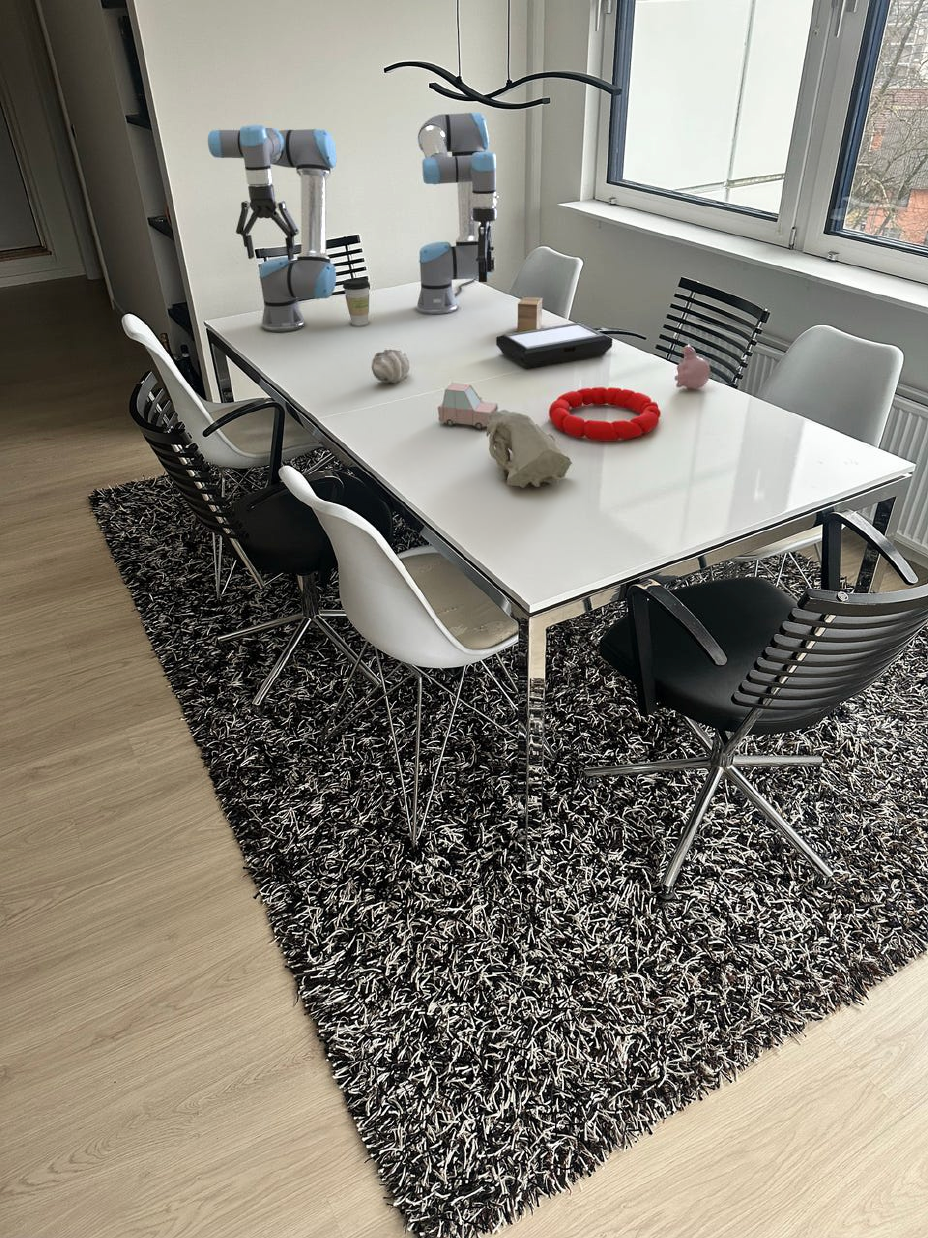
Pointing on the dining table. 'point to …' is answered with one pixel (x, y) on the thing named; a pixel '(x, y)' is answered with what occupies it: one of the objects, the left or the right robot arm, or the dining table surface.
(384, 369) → the seashell
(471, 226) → the right robot arm
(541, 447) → the grey rough stone chunk
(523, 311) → the block
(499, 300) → the dining table surface
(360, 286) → the coffee cup
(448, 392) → the toy car
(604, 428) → the decorative ring
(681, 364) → the figurine
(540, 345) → the electronic device
